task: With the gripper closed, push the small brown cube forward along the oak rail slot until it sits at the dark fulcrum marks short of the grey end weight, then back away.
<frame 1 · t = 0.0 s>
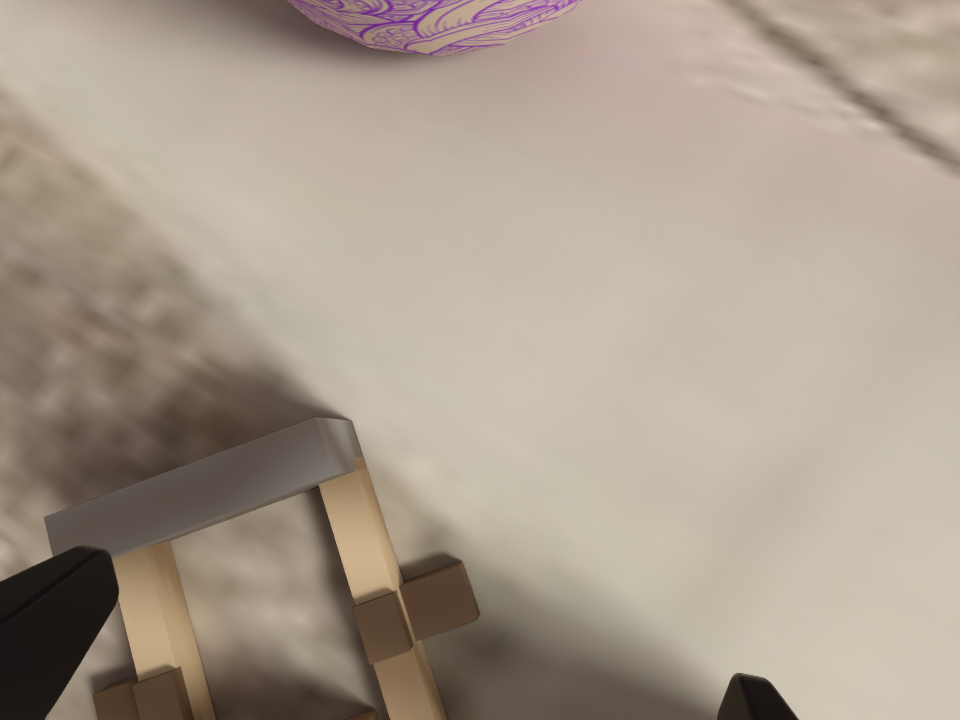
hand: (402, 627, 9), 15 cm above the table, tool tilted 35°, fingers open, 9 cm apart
rail slot: (305, 704, 23), on the table
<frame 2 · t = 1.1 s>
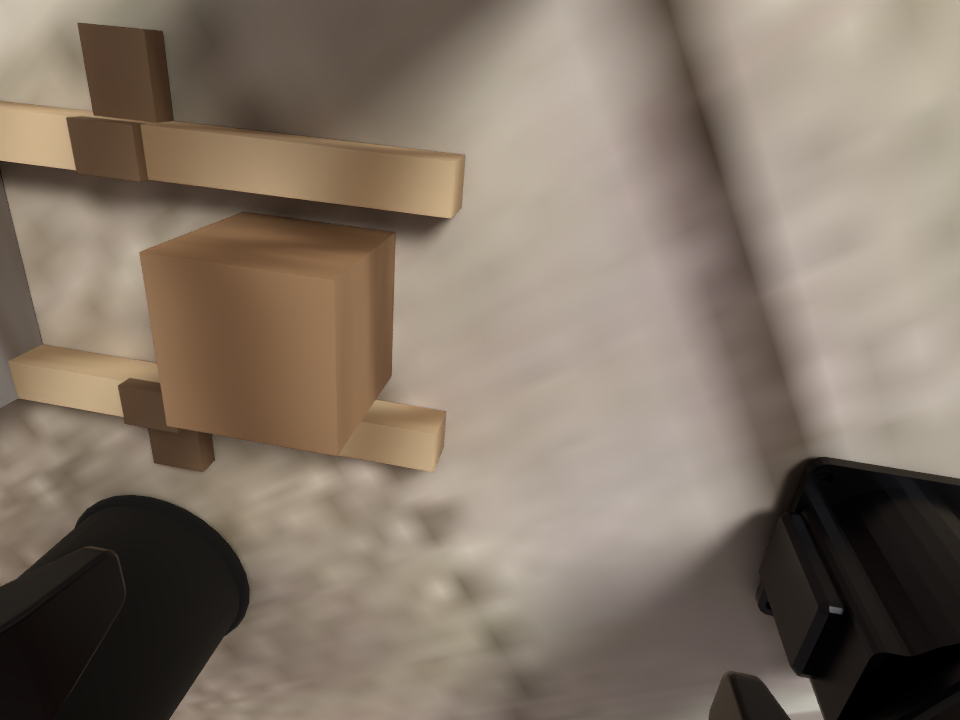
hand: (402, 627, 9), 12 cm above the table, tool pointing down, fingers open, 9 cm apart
aerosol can: (167, 565, 27), on the table
brown cube: (321, 296, 20), resting in rail slot
rail slot: (220, 283, 20), on the table
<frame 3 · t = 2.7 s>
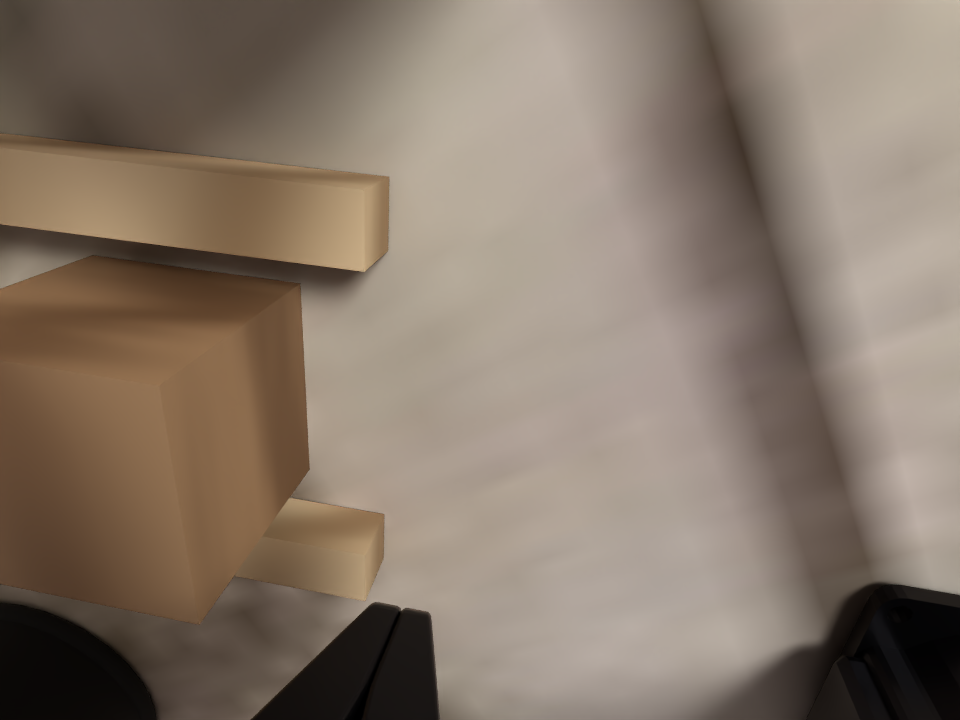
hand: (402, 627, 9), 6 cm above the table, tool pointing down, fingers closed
aerosol can: (55, 680, 22), on the table
brown cube: (208, 366, 15), resting in rail slot
rail slot: (73, 348, 15), on the table
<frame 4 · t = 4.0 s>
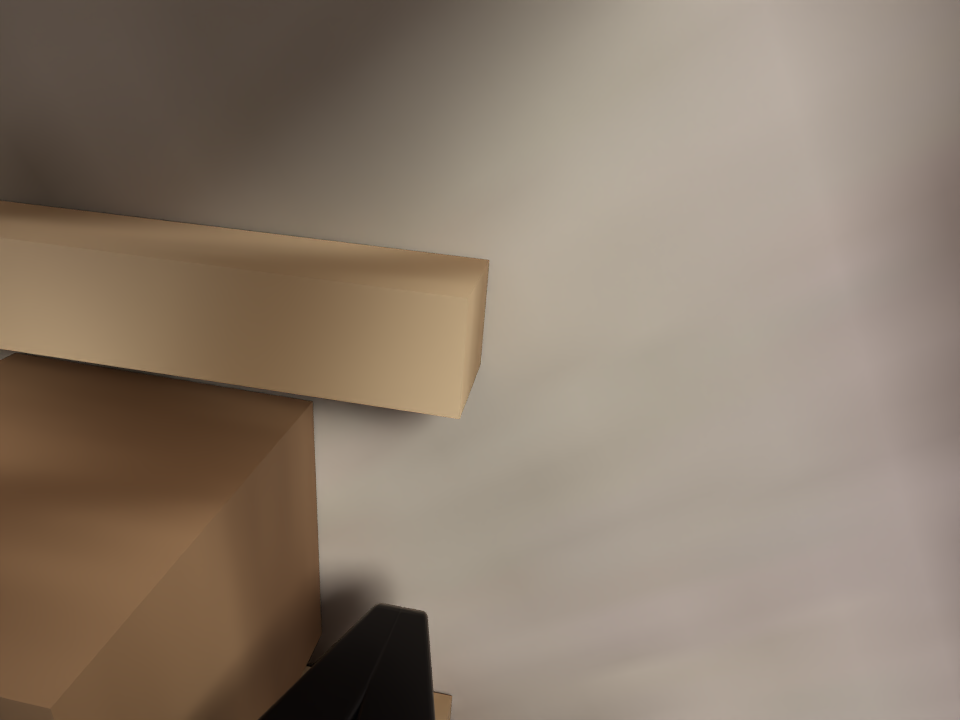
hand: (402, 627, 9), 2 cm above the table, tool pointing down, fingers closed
brown cube: (180, 503, 11), resting in rail slot, touching gripper
rail slot: (25, 477, 11), on the table
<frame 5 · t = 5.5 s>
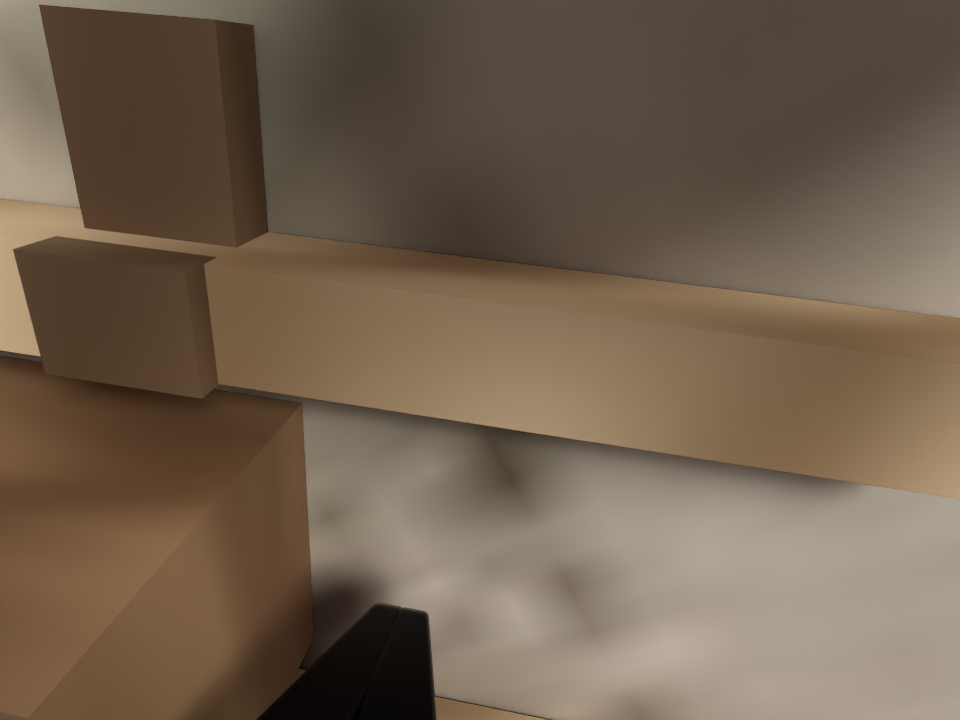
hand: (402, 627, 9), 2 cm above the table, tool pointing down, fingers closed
brown cube: (170, 507, 11), resting in rail slot, touching gripper
rail slot: (346, 537, 10), on the table
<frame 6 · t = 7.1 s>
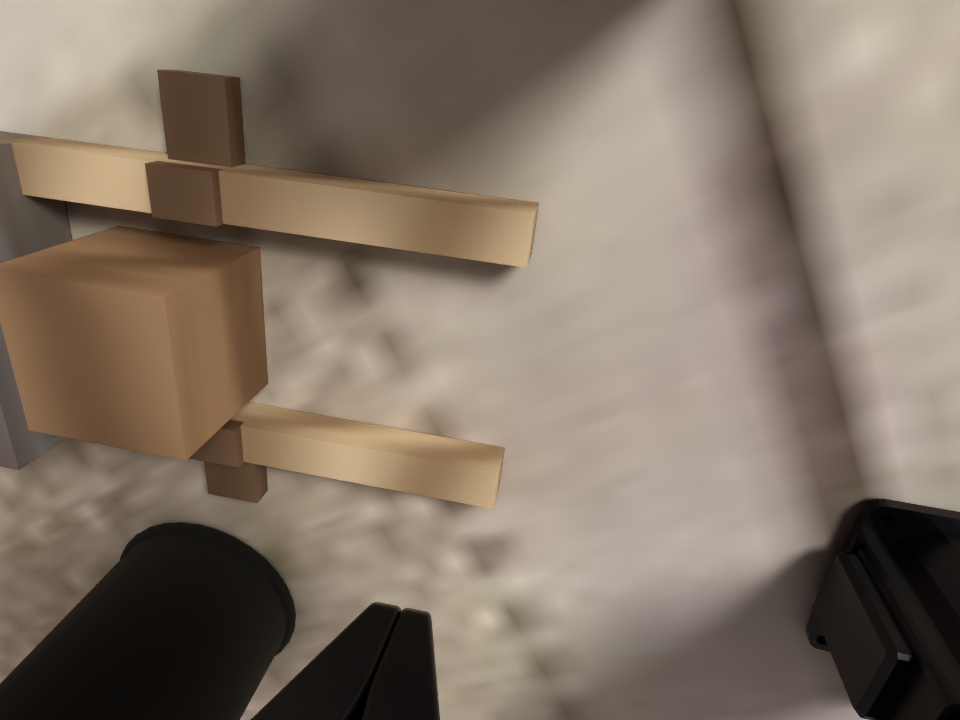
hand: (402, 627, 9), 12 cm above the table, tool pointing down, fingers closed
aerosol can: (212, 590, 27), on the table
brown cube: (197, 306, 21), resting in rail slot
rail slot: (283, 320, 21), on the table
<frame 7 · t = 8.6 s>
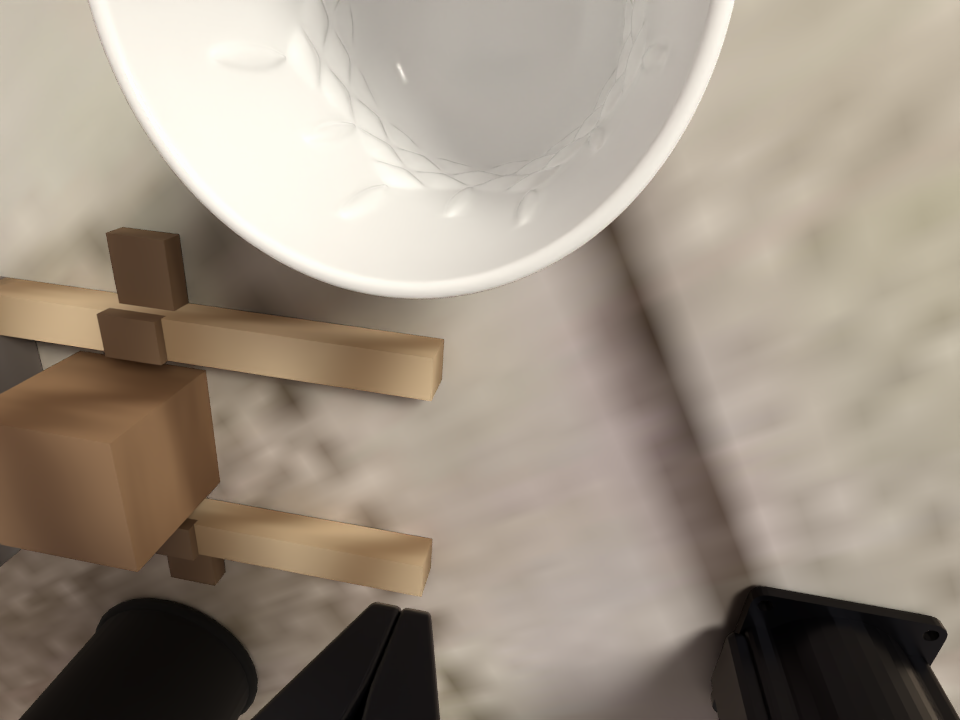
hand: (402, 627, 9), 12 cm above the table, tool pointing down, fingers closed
aerosol can: (182, 655, 30), on the table
brown cube: (153, 417, 24), resting in rail slot
rail slot: (230, 430, 23), on the table
white cup: (501, 31, 16), on the table
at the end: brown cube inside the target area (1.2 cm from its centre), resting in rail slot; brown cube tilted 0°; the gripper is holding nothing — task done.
